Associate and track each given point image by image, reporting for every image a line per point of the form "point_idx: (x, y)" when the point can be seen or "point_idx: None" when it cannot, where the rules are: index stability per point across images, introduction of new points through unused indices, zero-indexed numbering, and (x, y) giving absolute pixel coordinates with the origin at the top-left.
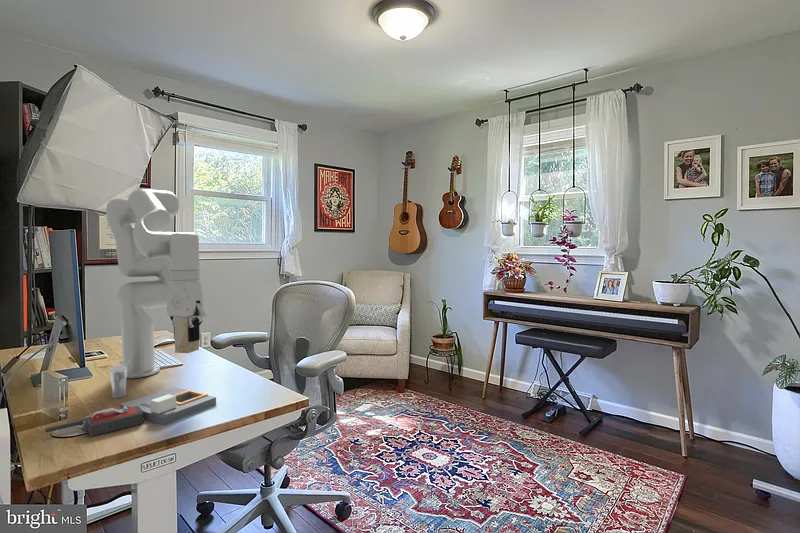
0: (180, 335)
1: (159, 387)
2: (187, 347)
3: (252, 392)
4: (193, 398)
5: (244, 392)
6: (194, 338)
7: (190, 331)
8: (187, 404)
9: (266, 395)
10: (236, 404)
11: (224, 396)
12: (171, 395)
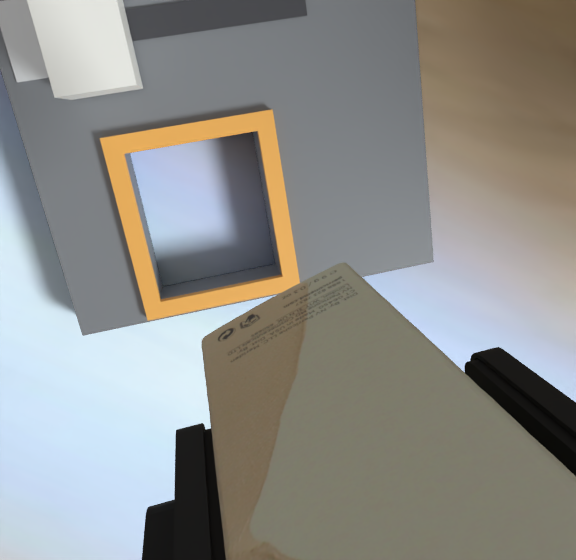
0: (330, 395)
1: (567, 241)
2: (208, 366)
3: (119, 511)
4: (135, 234)
5: (150, 486)
6: (168, 506)
7: (179, 551)
8: (86, 174)
9: (21, 537)
10: (6, 387)
11: (172, 398)
12: (94, 84)
